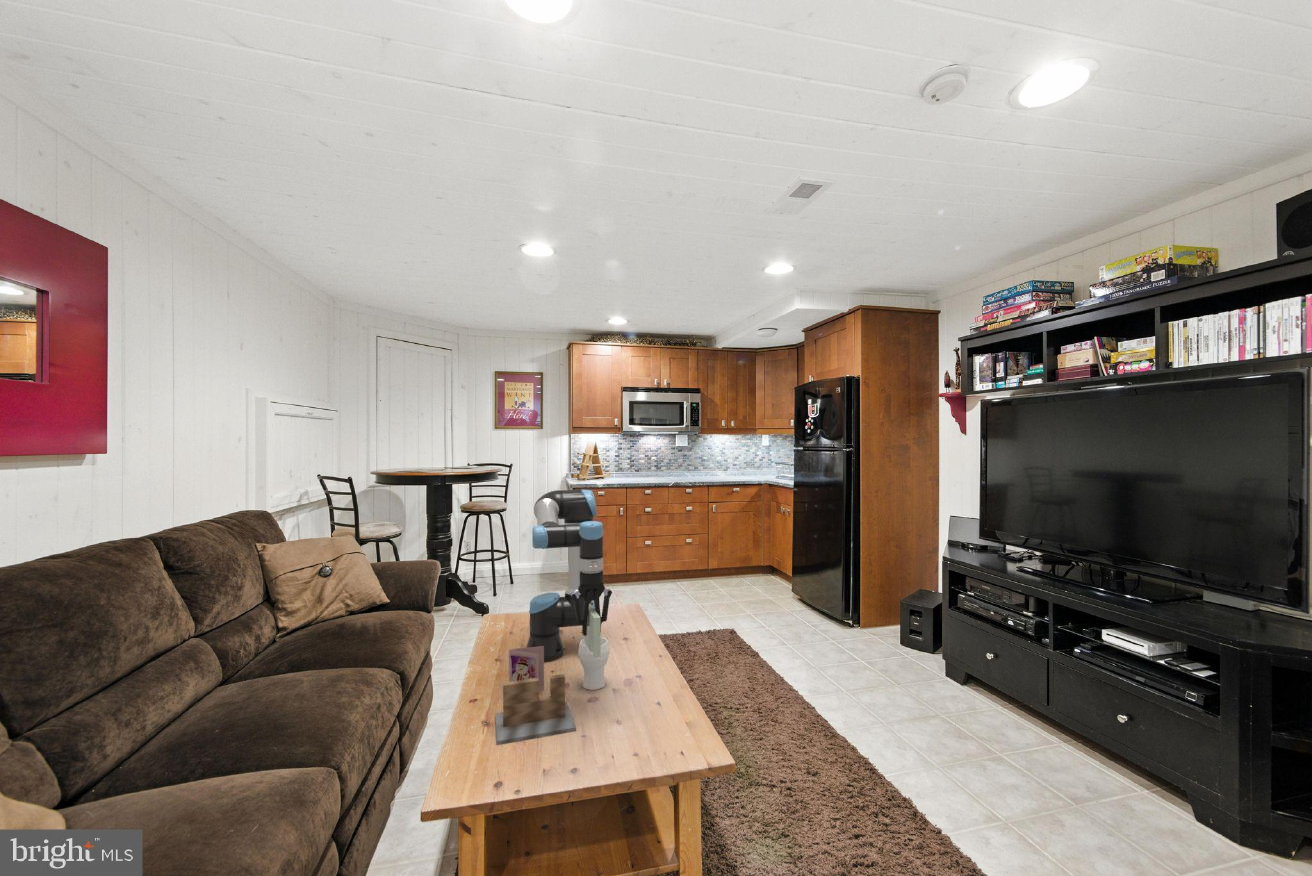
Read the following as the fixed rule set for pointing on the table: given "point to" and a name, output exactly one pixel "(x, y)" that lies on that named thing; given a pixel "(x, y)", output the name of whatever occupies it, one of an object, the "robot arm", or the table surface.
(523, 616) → the table surface
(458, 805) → the table surface
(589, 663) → the cup
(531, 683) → the wood panel stand
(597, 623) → the sage plate
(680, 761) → the table surface
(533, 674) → the greeting card
